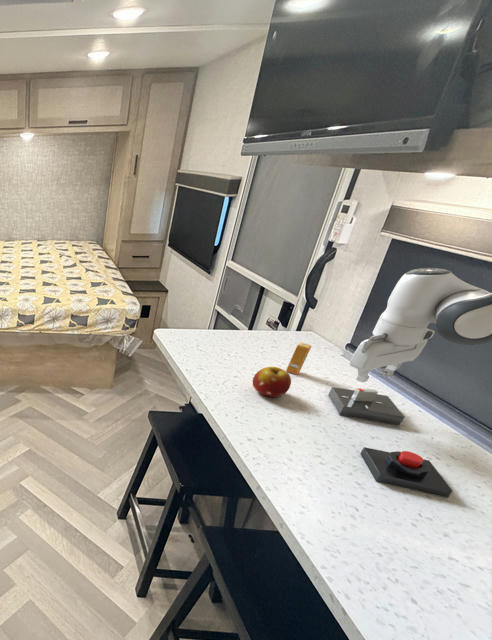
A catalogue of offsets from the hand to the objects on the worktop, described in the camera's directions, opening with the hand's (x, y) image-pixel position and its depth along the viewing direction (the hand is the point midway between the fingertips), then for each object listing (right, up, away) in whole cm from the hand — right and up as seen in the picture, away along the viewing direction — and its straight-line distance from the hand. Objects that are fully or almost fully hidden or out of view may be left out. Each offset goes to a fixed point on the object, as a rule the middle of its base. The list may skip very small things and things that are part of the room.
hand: (373, 378), depth 107 cm
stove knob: (0, -6, +4) cm, 7 cm away
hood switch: (-11, -21, -18) cm, 30 cm away
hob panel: (+1, -9, +5) cm, 10 cm away
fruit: (-20, -5, +13) cm, 24 cm away
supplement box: (-4, +1, +24) cm, 24 cm away
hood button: (-11, -18, -19) cm, 28 cm away
